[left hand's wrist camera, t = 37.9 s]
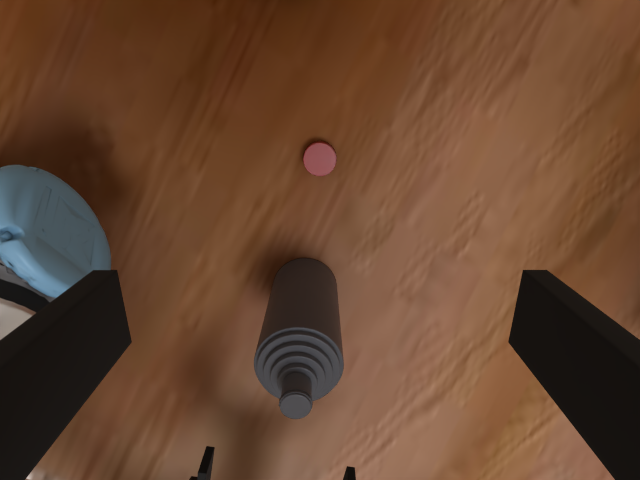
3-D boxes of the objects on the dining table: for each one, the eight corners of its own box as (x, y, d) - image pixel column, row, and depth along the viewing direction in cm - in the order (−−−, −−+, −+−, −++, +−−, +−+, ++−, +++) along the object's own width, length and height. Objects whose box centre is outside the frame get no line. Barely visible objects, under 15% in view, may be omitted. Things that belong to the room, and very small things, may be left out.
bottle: (341, 262, 49) (355, 371, 30) (331, 317, 52) (338, 450, 32) (276, 253, 49) (247, 358, 29) (270, 310, 52) (240, 440, 32)
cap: (300, 169, 45) (299, 172, 43) (307, 137, 44) (306, 139, 42) (332, 176, 45) (332, 179, 44) (339, 144, 44) (340, 146, 42)
